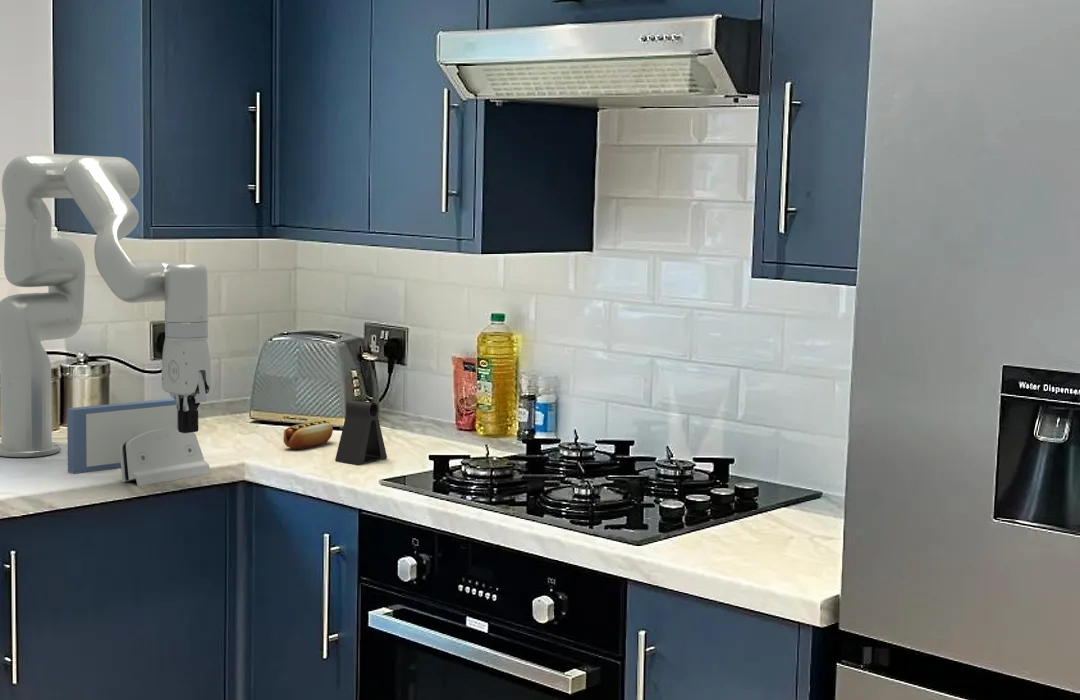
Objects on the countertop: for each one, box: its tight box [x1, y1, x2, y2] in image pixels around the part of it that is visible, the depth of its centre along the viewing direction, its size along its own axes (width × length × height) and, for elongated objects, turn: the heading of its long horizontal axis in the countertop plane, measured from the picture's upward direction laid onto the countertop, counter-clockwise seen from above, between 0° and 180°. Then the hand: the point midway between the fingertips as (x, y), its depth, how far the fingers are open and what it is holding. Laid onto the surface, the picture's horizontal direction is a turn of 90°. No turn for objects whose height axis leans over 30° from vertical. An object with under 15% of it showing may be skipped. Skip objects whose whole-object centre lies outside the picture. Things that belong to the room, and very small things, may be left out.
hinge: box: [119, 429, 211, 487], centre depth 267 cm, size 17×5×10 cm, turn 141°
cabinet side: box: [66, 397, 179, 474], centre depth 276 cm, size 3×24×12 cm, turn 134°
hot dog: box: [283, 420, 334, 450], centre depth 300 cm, size 5×13×5 cm, turn 150°
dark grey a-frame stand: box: [334, 398, 388, 466], centre depth 287 cm, size 9×6×12 cm, turn 146°
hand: (188, 431), depth 260 cm, fingers closed
